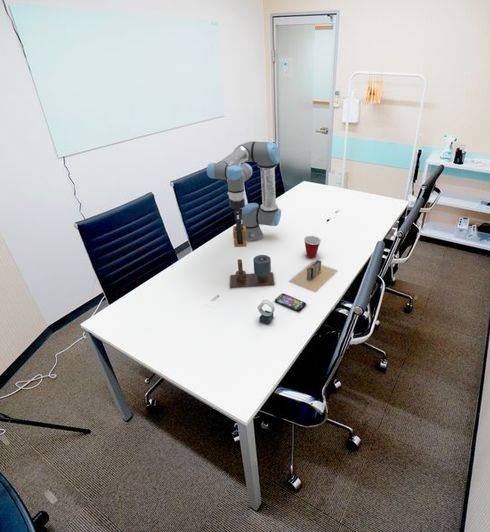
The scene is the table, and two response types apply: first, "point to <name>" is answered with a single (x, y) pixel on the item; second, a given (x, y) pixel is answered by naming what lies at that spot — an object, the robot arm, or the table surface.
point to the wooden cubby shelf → (242, 237)
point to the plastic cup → (312, 245)
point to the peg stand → (249, 278)
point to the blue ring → (262, 265)
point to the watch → (266, 312)
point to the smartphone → (290, 302)
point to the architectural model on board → (313, 276)
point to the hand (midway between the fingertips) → (240, 240)
